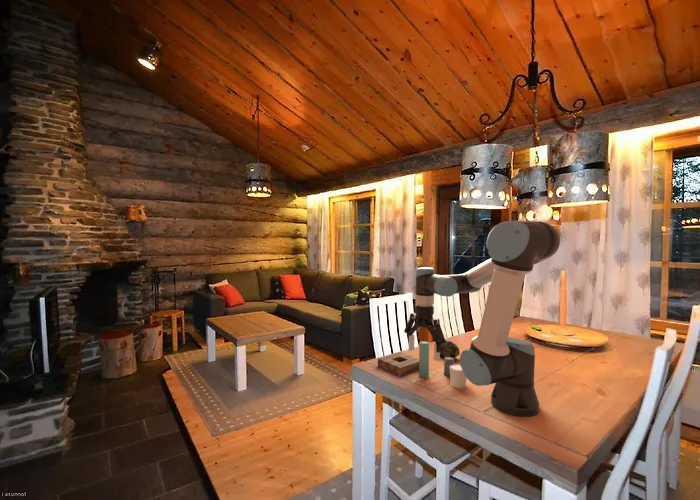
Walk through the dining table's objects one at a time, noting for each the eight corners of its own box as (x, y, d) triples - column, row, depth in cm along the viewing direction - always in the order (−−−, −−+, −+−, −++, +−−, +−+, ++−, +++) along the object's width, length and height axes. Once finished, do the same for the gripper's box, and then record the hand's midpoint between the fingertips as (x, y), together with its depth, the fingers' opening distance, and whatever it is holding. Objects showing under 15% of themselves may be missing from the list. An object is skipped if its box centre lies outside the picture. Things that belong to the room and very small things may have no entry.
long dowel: (430, 376, 145) (431, 343, 145) (424, 378, 143) (424, 345, 142) (423, 373, 148) (423, 340, 148) (417, 375, 146) (417, 342, 145)
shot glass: (459, 390, 132) (459, 372, 132) (445, 383, 138) (445, 366, 138) (471, 385, 136) (471, 368, 136) (457, 379, 142) (457, 362, 141)
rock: (463, 340, 167) (454, 340, 162) (464, 360, 165) (455, 360, 160) (442, 340, 176) (432, 339, 171) (442, 358, 174) (433, 359, 169)
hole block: (422, 368, 154) (422, 360, 154) (400, 376, 145) (400, 367, 145) (399, 359, 165) (399, 352, 165) (377, 366, 156) (377, 358, 156)
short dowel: (455, 375, 146) (456, 359, 146) (450, 377, 144) (450, 361, 143) (448, 372, 149) (448, 356, 149) (442, 374, 147) (442, 358, 146)
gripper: (455, 309, 137) (454, 361, 138) (408, 298, 156) (407, 345, 158) (443, 311, 132) (442, 366, 133) (396, 300, 152) (395, 348, 153)
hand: (423, 354), depth 145 cm, fingers open, 13 cm apart
